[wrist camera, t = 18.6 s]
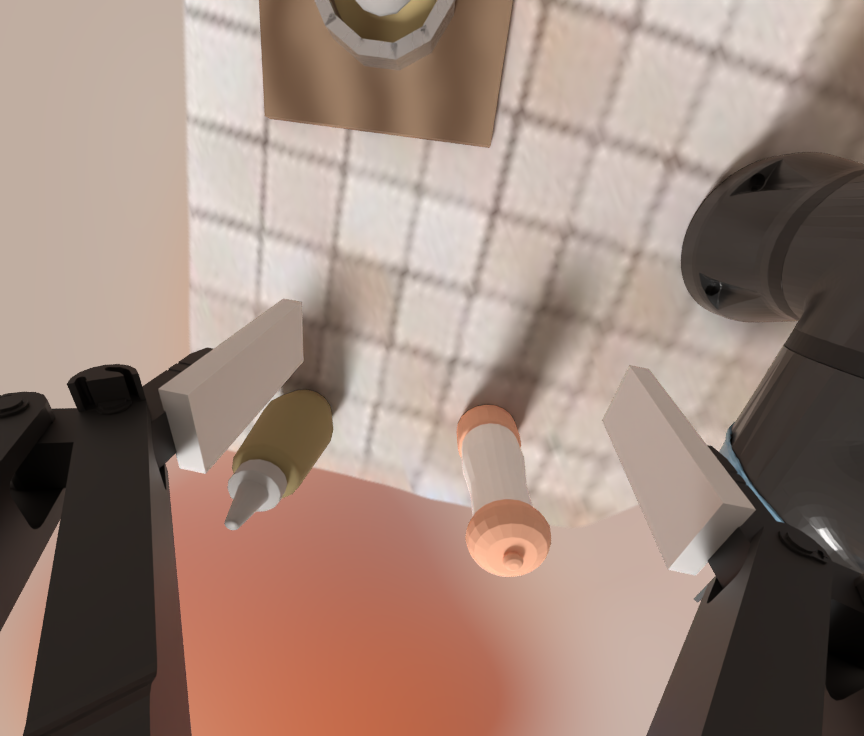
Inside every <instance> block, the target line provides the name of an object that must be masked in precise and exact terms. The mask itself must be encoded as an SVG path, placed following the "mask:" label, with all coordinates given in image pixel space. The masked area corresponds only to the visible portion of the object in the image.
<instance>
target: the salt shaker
mask: <svg viewBox="0 0 864 736" xmlns="http://www.w3.org/2000/svg"><path fill="white" fill-rule="evenodd" d="M355 1H356V2H357V3H358V4H359V5H360V6H361V7H362V9H363V10H365V11H367V12H370V13H372V14H375V15H377V16H380V17H381V16H386V15H391V14H397V13H398V12H399V11H400V10H401V9H402V8H403V7H404V6H405V5H407V4H408V3H409V2H410V1H411V0H355Z"/></svg>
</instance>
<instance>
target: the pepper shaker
mask: <svg viewBox="0 0 864 736" xmlns="http://www.w3.org/2000/svg"><path fill="white" fill-rule="evenodd" d="M457 443H458V450H459V454H460V456H461V458H462V469H463V473H464V477H465V480H466V483H467V486H468V489H469V492H470V496H471V505H472V513H473V517H472V519H471V520H470V522H469V524H468V527H467V531H466V537H465V540H466V543H467V547H468V550H469V552H470V555H471V556H472V558H473V559H474V560H475V561H476V563H477V564H478V565H479V566H480V567H482V568H483V569H485V570H486V571H488V572H489V573H492V574H495V575H498V576H506V577H512V576H520V575H524V574H526V573H529V572H531V571H533V570H534V569H536V568H537V567H539V566H540V564H541V563H542V562H543V561H544V560H545V558H546V556H547V554H548V551H549V548H550V545H551V533H550V526H549V524H548V523H547V521H546V519H545V518H544V516H543V515H542V514H541V513H540V512H539V511H537V510H536V509H535V508H534V507H533V505H532V502H531V498H530V495H529V492H528V488H527V484H526V472H525V462H524V456H523V454H522V451H521V449H520V447H521V441H520V436H519V433H518V430H517V427H516V424H515V421H514V420H513V418H512V416H511V414H509V413H508V412H507V411H506V410H505V409H503V408H500V407H498V406H495V405H481V406H476V407H474V408H472V409H470V410H468V411H467V412H466V413H465V414H464V415H463V416H462V417H461V419H460V421H459V423H458V426H457Z"/></svg>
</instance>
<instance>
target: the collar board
mask: <svg viewBox="0 0 864 736" xmlns="http://www.w3.org/2000/svg"><path fill="white" fill-rule="evenodd" d="M512 3H513V0H411V1H410V2H409V3H408V4H407V5H405V6H404V7H403V8H402V9H401V10H400V11H399V12H398V13H397V14H391V15H386V16H381V17H380V16H377V15H375V14H372V13H370V12H367V11H365V10H363V9H362V7H361V6H360V5H359V4H358V3H357V2H356V1H355V0H259V9H260V29H261V49H262V69H263V89H264V109H265V116H266V117H268V118H270V119H276V120H283V121H291V122H298V123H306V124H313V125H321V126H329V127H336V128H344V129H351V130H359V131H366V132H374V133H382V134H389V135H397V136H404V137H412V138H419V139H427V140H435V141H442V142H450V143H457V144H465V145H472V146H480V147H488V148H489V147H490V145H491V139H492V132H493V126H494V119H495V113H496V107H497V100H498V94H499V87H500V81H501V74H502V68H503V61H504V55H505V49H506V42H507V36H508V29H509V23H510V16H511V10H512Z"/></svg>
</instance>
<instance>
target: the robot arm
mask: <svg viewBox="0 0 864 736" xmlns="http://www.w3.org/2000/svg"><path fill="white" fill-rule="evenodd" d="M681 270H682V276H683V280H684V283H685V285H686V288H687V290H688V292H689V293H690V295H691V296H692V297H693V299H694V300H695V301H696V302H697V303H698V304H699V305H701V306H702V307H703V308H705V309H707V310H708V311H710V312H713V313H715V314H718V315H720V316H723V317H726V318H729V319H732V320H737V321H743V322H778V321H798V323H797V324H796V326H795V328H794V330H793V331H792V333H791V335H790V336H789V338H788V339H787V341H786V343H785V344H784V345H783V347H782V348H781V350H780V351H779V353H778V355H777V356H776V358H775V360H774V361H773V363H772V365H771V366H770V368H769V369H768V371H767V373H766V374H765V376H764V378H763V379H762V381H761V383H760V384H759V386H758V387H757V389H756V391H755V392H754V394H753V395H752V397H751V398H750V400H749V402H748V403H747V405H746V406H745V408H744V409H743V411H742V412H741V414H740V416H739V417H738V419H737V420H736V422H734V423H733V424H732V425H731V426H730V427H729V429H728V430H727V433H726V440H725V442H724V444H723V446H722V448H721V449H720V451H719V452H718V451H717V450H716V449H715V448H713V447H712V446H708V445H706V443H705V442H704V441H703V439H702V438H701V437H700V435H699V434H698V433H697V432H696V430H695V429H694V428H693V426H692V425H691V424H690V422H689V421H688V420H687V418H686V417H685V416H684V414H683V413H682V412H681V410H680V409H679V408H678V407H677V405H676V404H675V403H674V401H673V400H672V399H671V397H670V396H669V395H668V393H667V392H666V391H665V389H664V388H663V387H662V386H661V384H660V383H659V382H658V380H657V379H656V378H655V376H654V375H653V374H652V372H651V371H650V370H649V369H646V368H641V367H636V366H631V365H629V367H628V369H627V371H626V373H625V375H624V377H623V379H622V381H621V383H620V385H619V387H618V389H617V391H616V393H615V395H614V397H613V399H612V401H611V403H610V405H609V407H608V409H607V411H606V413H605V415H604V417H603V419H602V421H603V423H604V426H605V428H606V430H607V432H608V435H609V437H610V439H611V441H612V444H613V446H614V448H615V451H616V453H617V455H618V457H619V460H620V462H621V464H622V466H623V469H624V471H625V473H626V476H627V478H628V480H629V482H630V485H631V487H632V489H633V492H634V494H635V496H636V498H637V501H638V503H639V505H640V507H641V510H642V512H643V514H644V516H645V519H646V521H647V523H648V525H649V528H650V530H651V532H652V535H653V537H654V539H655V542H656V544H657V546H658V548H659V551H660V553H661V555H662V557H663V560H664V562H665V564H666V566H667V569H668V570H672V571H677V572H681V573H686V574H691V575H697V574H698V573H699V571H700V570H701V569H702V568H703V567H704V566H705V565H706V564H707V563H708V562H709V564H710V566H711V568H712V570H713V572H714V573H715V575H716V576H715V577H714V578H713V579H712V580H711V581H710V582H709V583H708V584H707V586H706V587H705V588H704V589H703V590H702V591H701V592H700V593H699V594H698V595H697V596H696V597H695V598H694V600H695V601H697V602H699V601H700V600H701V599H702V600H701V603H700V605H699V608H698V610H697V613H696V615H695V617H694V620H693V623H692V625H691V627H690V630H689V632H688V635H687V637H686V640H685V642H684V644H683V647H682V650H681V652H680V654H679V657H678V659H677V662H676V664H675V667H674V669H673V672H672V674H671V676H670V679H669V681H668V684H667V686H666V689H665V691H664V694H663V696H662V699H661V701H660V703H659V706H658V708H657V711H656V713H655V716H654V718H653V721H652V723H651V726H650V728H649V731H648V733H647V735H646V736H864V164H862V163H858V162H855V161H851V160H848V159H844V158H841V157H837V156H834V155H830V154H825V153H817V152H801V153H793V154H787V155H780V156H774V157H770V158H766V159H763V160H760V161H757V162H755V163H752V164H750V165H748V166H746V167H744V168H742V169H741V170H739V171H737V172H736V173H734V174H733V175H731V176H730V177H729V178H727V179H726V180H725V181H724V182H722V183H721V184H720V185H719V186H718V187H717V188H716V189H715V190H714V191H713V192H712V193H711V194H710V195H709V196H708V197H707V199H706V200H705V201H704V202H703V204H702V205H701V206H700V208H699V209H698V211H697V213H696V214H695V216H694V218H693V219H692V221H691V223H690V226H689V228H688V230H687V233H686V236H685V239H684V243H683V247H682V254H681ZM303 361H304V357H303V322H302V302H298V301H293V300H288V299H282V300H281V301H279V302H278V303H277V304H275V305H274V306H272V307H271V308H270V309H268V310H267V311H265V312H264V313H263V314H261V315H260V316H259V317H257V318H256V319H254V320H253V321H252V322H250V323H249V324H247V325H246V326H245V327H243V328H242V329H241V330H239V331H238V332H236V333H235V334H234V335H232V336H231V337H229V338H228V339H227V340H225V341H224V342H223V343H221V344H220V345H218V346H217V347H216V348H214V349H212V348H205V349H202V350H199V351H197V352H194V353H191V354H189V355H188V356H187V357H185V358H184V359H182V360H181V361H179V363H178V364H175V365H173V366H172V367H170V368H169V370H168V371H167V370H166V371H165V372H163V373H162V374H160V375H159V376H157V377H156V378H154V379H153V380H151V381H150V382H148V383H147V384H145V385H144V386H142V384H141V381H140V377H139V374H138V372H137V370H136V369H135V368H133V367H131V366H128V365H120V364H113V365H103V366H98V367H93V368H90V369H87V370H84V371H82V372H79V373H78V374H77V375H75V376H73V377H72V378H71V379H70V380H69V382H68V383H67V385H68V388H69V390H70V393H71V395H72V397H73V400H74V402H75V404H76V407H77V408H68V409H51V407H50V405H49V403H48V400H47V399H46V397H45V396H44V395H43V394H39V393H36V392H17V393H8V394H4V395H2V396H1V395H0V631H1V629H2V627H3V625H4V624H5V622H6V620H7V618H8V616H9V614H10V612H11V610H12V609H13V607H14V605H15V603H16V601H17V599H18V597H19V595H20V594H21V592H22V590H23V588H24V586H25V584H26V582H27V581H28V579H29V577H30V575H31V573H32V571H33V569H34V567H35V566H36V564H37V562H38V560H39V558H40V556H41V554H42V552H43V550H44V549H45V547H46V545H47V543H48V541H49V539H50V537H51V536H52V533H53V532H54V530H55V528H56V526H57V524H58V522H59V521H60V526H59V532H58V538H57V543H56V549H55V555H54V561H53V568H52V573H51V579H50V584H49V590H48V596H47V602H46V608H45V614H44V620H43V626H42V631H41V638H40V643H39V649H38V655H37V661H36V667H35V673H34V678H33V684H32V690H31V696H30V702H29V708H28V714H27V720H26V726H25V730H24V733H23V736H192V734H191V725H190V714H189V703H188V691H187V680H186V670H185V658H184V647H183V636H182V625H181V614H180V603H179V592H178V581H177V569H176V558H175V547H174V536H173V525H172V515H171V503H170V491H169V482H168V481H169V480H168V471H167V468H166V464H165V463H166V462H167V461H168V460H169V459H170V458H171V457H172V456H173V455H174V454H175V453H176V456H177V460H178V464H179V467H180V469H186V470H190V471H195V472H200V473H205V474H206V473H207V472H208V470H209V469H210V468H211V467H212V466H213V465H214V464H215V463H216V461H217V460H218V459H219V458H220V457H221V456H222V454H223V453H224V452H225V451H226V450H227V449H228V448H229V446H230V445H231V444H232V443H233V442H234V441H235V440H236V438H237V437H238V436H239V435H240V434H241V433H242V432H243V430H244V429H245V428H246V427H247V426H248V425H249V423H250V422H251V421H252V420H253V419H254V418H255V417H256V415H257V414H258V413H259V412H260V411H261V410H262V409H263V407H264V406H265V405H266V404H267V403H268V402H269V401H270V399H271V398H272V397H273V396H274V395H275V394H276V392H277V391H278V390H279V389H280V388H281V387H282V386H283V384H284V383H285V382H286V381H287V380H288V379H289V378H290V376H291V375H292V374H293V373H294V372H295V371H296V370H297V368H298V367H299V366H300V365H301V364H302V363H303ZM60 519H61V520H60Z"/></svg>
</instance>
